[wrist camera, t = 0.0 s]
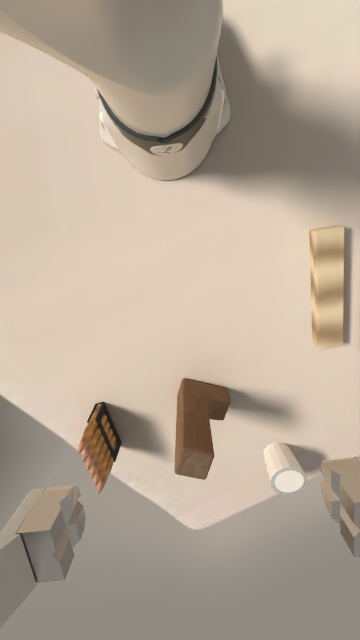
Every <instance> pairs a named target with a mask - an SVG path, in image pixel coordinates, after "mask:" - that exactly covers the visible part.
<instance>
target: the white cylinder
mask: <svg viewBox="0 0 360 640" xmlns="http://www.w3.org/2000/svg"><path fill="white" fill-rule="evenodd" d="M264 458H265V462H266V466H267V471H268V475H269V479H270V483H271V487H272V488H273V490H274V491H275V492H277V493H279V494H285V495H290V494H295V493H297V492H299V491H301V490H302V489H303V488H304V487H305V485H306V483H307V476H306V474H305V472H304V471H303V469H302V468H301V466H300V464H299V463H298V461H297V460H296V458H295V456H294V455H293V453H292V452H291V450H290V448H289V447H288V446H287V445H286V444H284V443H280V442H276V443H272V444H270V445H268V446H267V447H266V448H265V450H264Z"/></svg>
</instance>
